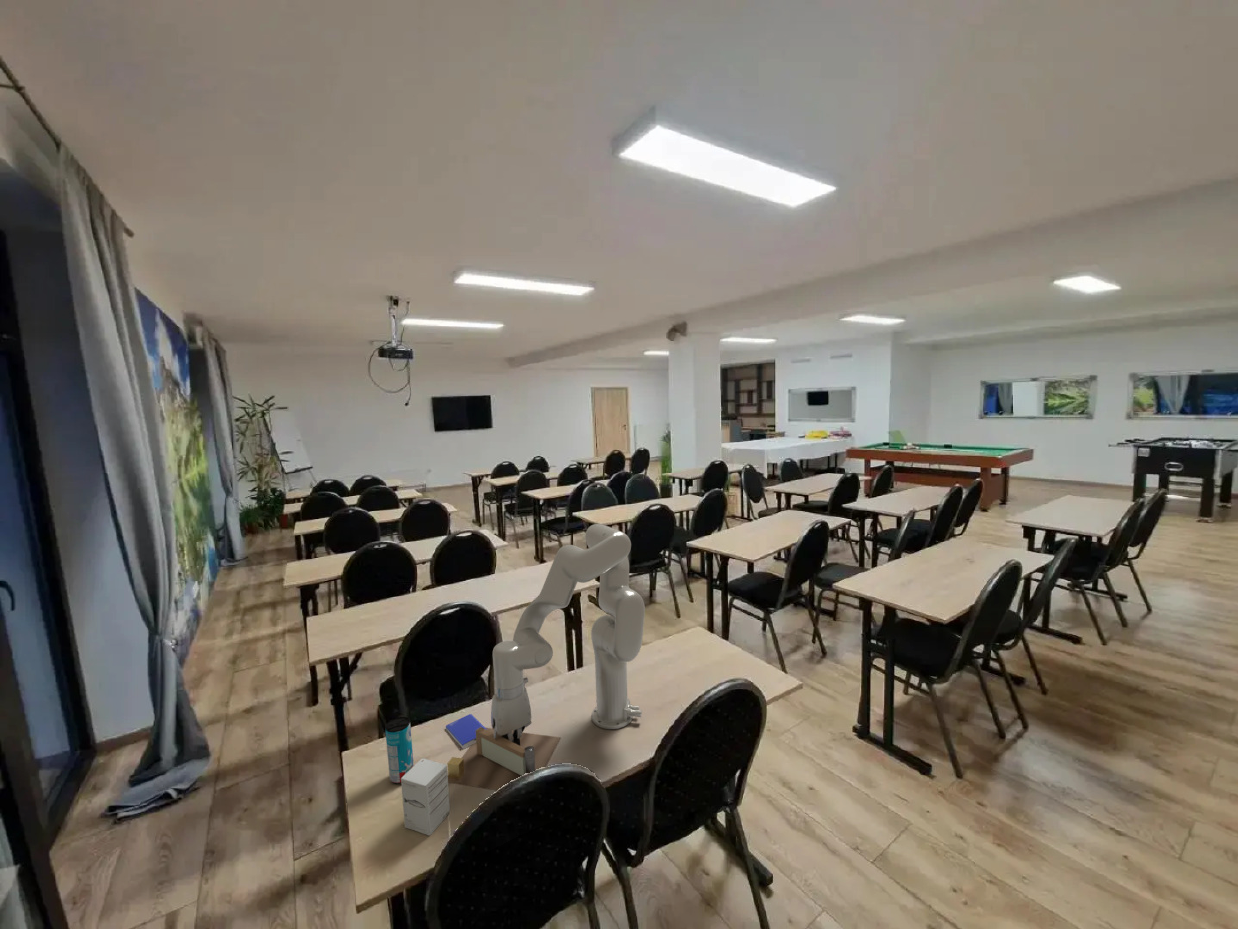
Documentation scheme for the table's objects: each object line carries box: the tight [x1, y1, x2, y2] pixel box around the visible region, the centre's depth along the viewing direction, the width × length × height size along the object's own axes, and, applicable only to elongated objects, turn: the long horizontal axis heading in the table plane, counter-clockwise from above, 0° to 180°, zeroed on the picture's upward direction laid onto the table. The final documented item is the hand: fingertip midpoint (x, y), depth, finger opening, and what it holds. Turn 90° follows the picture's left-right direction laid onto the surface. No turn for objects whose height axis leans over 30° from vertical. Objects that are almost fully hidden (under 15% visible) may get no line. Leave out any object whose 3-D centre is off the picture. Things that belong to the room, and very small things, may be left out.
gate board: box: [448, 727, 562, 791], centre depth 136 cm, size 24×22×1 cm
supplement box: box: [400, 757, 451, 836], centre depth 116 cm, size 7×7×13 cm
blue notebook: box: [445, 713, 487, 750], centre depth 148 cm, size 2×8×12 cm
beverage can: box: [384, 716, 415, 785], centre depth 130 cm, size 6×6×15 cm
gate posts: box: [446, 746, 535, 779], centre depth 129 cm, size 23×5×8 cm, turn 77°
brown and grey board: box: [476, 727, 526, 776], centre depth 133 cm, size 18×2×7 cm, turn 57°
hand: (514, 751), depth 137 cm, fingers closed
